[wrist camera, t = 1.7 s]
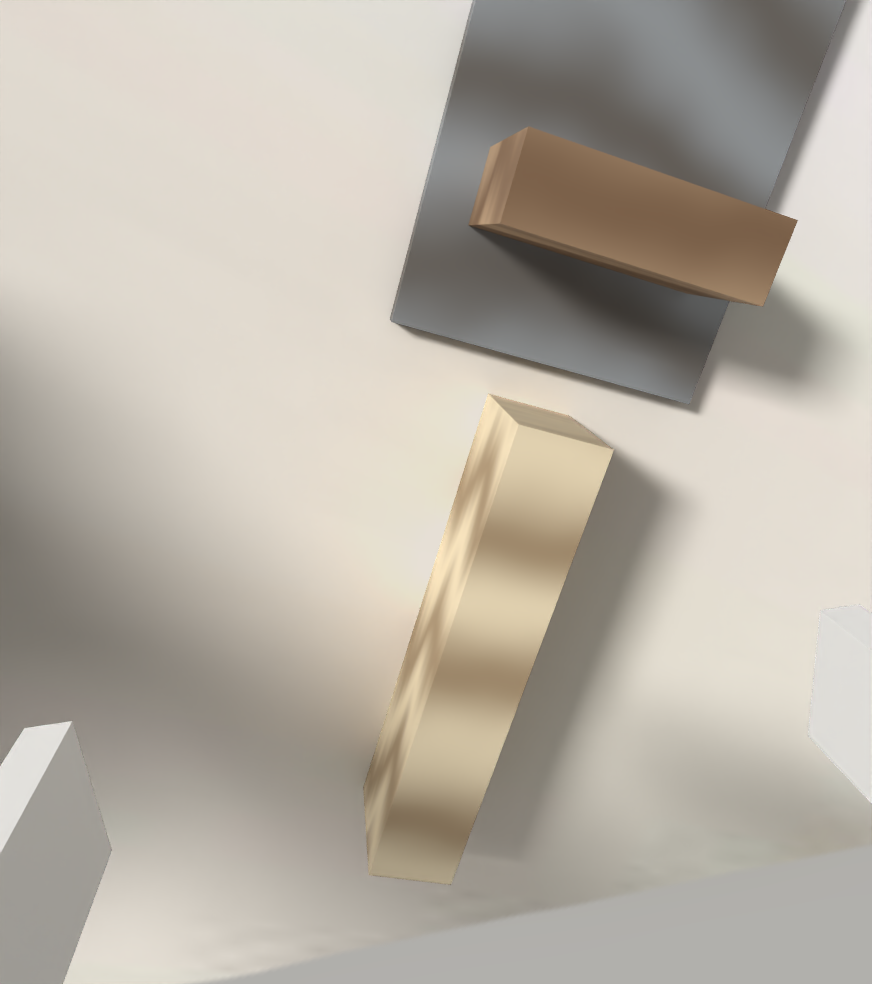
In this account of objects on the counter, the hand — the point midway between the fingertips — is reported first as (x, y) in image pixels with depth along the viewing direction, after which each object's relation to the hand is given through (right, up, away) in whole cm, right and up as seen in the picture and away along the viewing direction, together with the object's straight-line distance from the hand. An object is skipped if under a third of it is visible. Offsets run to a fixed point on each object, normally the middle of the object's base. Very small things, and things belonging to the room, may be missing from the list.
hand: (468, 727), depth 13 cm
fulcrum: (+7, +18, +17) cm, 26 cm away
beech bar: (+1, -2, +24) cm, 24 cm away
